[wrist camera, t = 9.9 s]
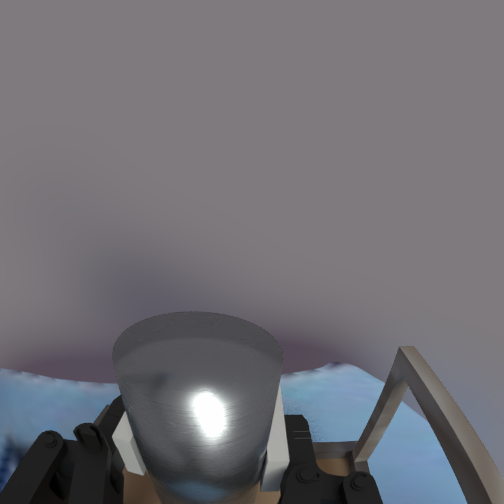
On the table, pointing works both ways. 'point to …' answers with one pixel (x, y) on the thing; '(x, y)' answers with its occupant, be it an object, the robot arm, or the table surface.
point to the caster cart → (357, 452)
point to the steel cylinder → (200, 403)
